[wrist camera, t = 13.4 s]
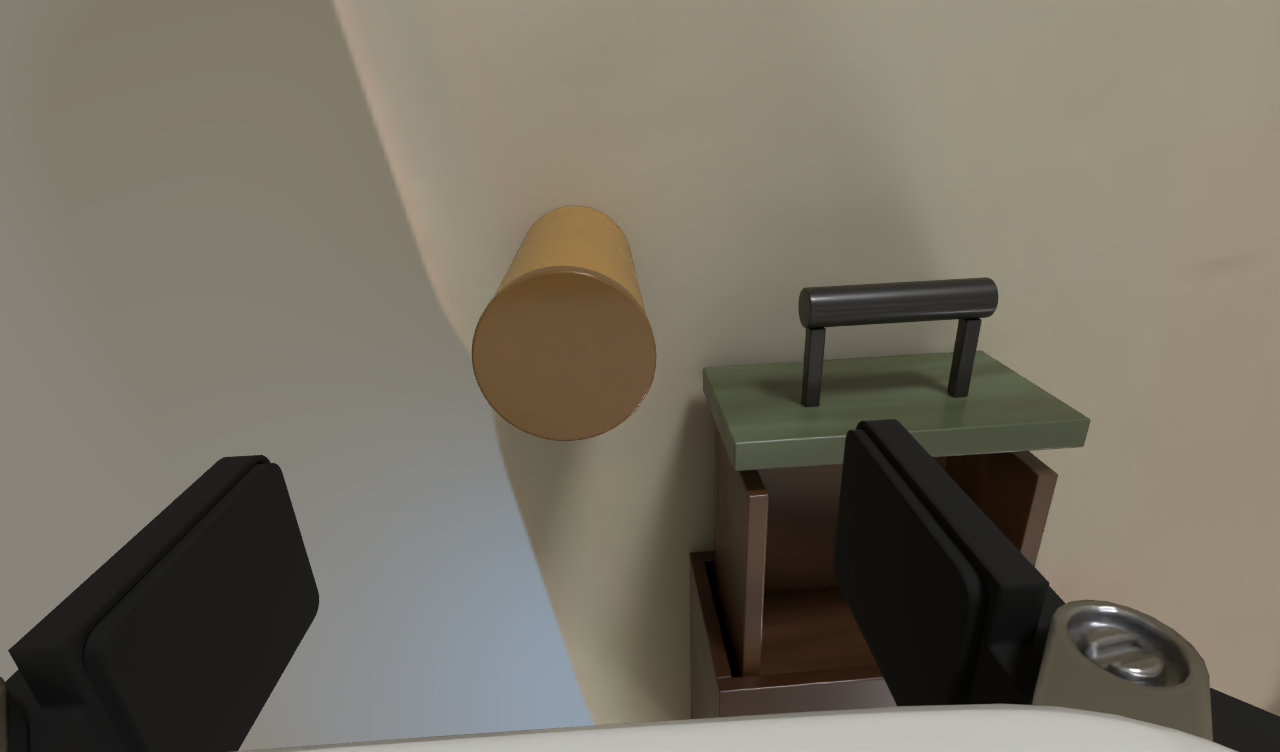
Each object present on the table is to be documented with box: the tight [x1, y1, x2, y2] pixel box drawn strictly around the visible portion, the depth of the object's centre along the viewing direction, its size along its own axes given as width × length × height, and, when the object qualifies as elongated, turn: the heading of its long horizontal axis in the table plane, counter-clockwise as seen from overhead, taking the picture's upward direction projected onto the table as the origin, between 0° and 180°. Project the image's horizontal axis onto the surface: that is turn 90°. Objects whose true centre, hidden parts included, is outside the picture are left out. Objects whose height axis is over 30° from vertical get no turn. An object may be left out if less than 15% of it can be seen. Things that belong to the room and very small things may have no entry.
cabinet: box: [689, 551, 897, 719], centre depth 33 cm, size 14×14×9 cm
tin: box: [472, 206, 656, 441], centre depth 22 cm, size 5×5×12 cm
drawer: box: [703, 278, 1090, 677], centre depth 28 cm, size 18×13×7 cm
